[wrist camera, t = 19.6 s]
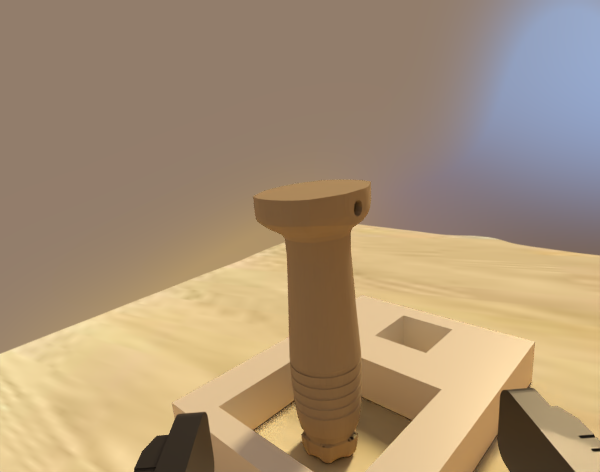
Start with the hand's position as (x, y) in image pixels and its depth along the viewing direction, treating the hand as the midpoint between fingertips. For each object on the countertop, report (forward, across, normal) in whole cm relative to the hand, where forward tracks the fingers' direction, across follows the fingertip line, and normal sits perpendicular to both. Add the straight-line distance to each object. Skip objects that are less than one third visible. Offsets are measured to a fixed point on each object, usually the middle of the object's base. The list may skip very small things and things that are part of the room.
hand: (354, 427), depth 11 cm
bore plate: (+13, -2, +10) cm, 17 cm away
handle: (+11, 0, +10) cm, 15 cm away
